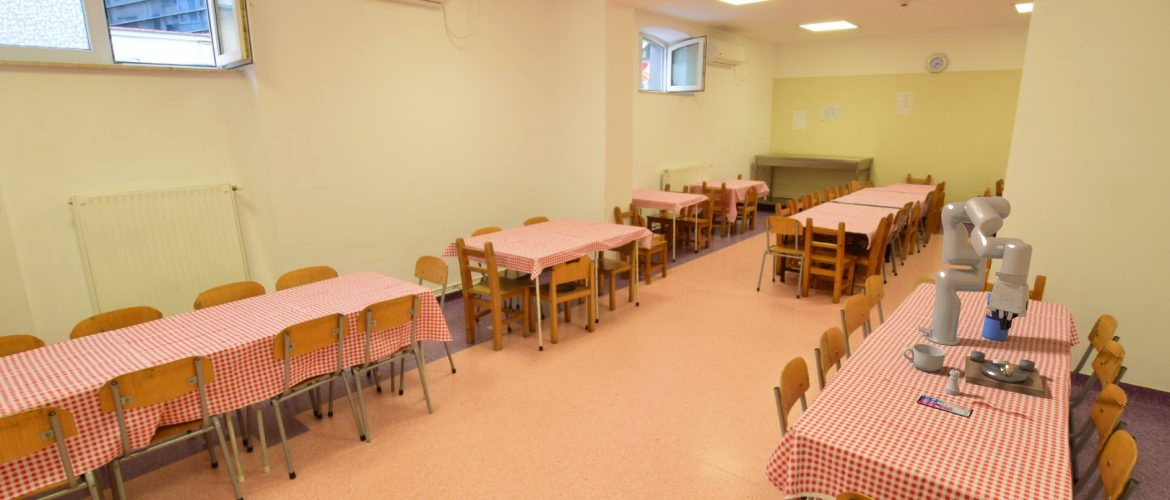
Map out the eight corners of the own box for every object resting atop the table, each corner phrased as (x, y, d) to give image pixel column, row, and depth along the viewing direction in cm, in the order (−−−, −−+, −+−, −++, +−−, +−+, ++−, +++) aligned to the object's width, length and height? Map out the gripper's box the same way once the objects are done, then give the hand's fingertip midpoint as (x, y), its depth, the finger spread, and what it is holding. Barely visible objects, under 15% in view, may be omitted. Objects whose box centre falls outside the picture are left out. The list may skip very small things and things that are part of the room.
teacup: (940, 365, 219) (943, 346, 217) (944, 376, 209) (947, 356, 208) (899, 359, 225) (902, 340, 223) (901, 370, 215) (904, 350, 213)
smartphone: (969, 417, 179) (915, 402, 189) (969, 419, 180) (915, 404, 189) (973, 408, 185) (921, 394, 195) (973, 410, 185) (921, 396, 195)
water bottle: (984, 339, 246) (993, 283, 240) (979, 332, 254) (987, 278, 249) (1010, 342, 242) (1020, 286, 237) (1004, 335, 251) (1013, 280, 245)
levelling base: (965, 382, 205) (967, 368, 203) (965, 361, 223) (967, 348, 221) (1043, 397, 193) (1045, 382, 192) (1035, 374, 211) (1038, 360, 210)
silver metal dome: (1030, 386, 196) (1033, 369, 194) (985, 379, 201) (988, 363, 199) (1019, 371, 207) (1022, 356, 206) (977, 365, 212) (979, 350, 211)
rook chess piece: (954, 396, 194) (958, 374, 192) (941, 391, 198) (944, 369, 196) (962, 393, 196) (965, 372, 194) (949, 388, 200) (952, 367, 198)
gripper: (983, 275, 198) (975, 325, 202) (1034, 285, 186) (1025, 338, 190) (993, 272, 202) (985, 321, 206) (1044, 281, 190) (1034, 333, 194)
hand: (1004, 329), depth 198 cm, fingers closed
